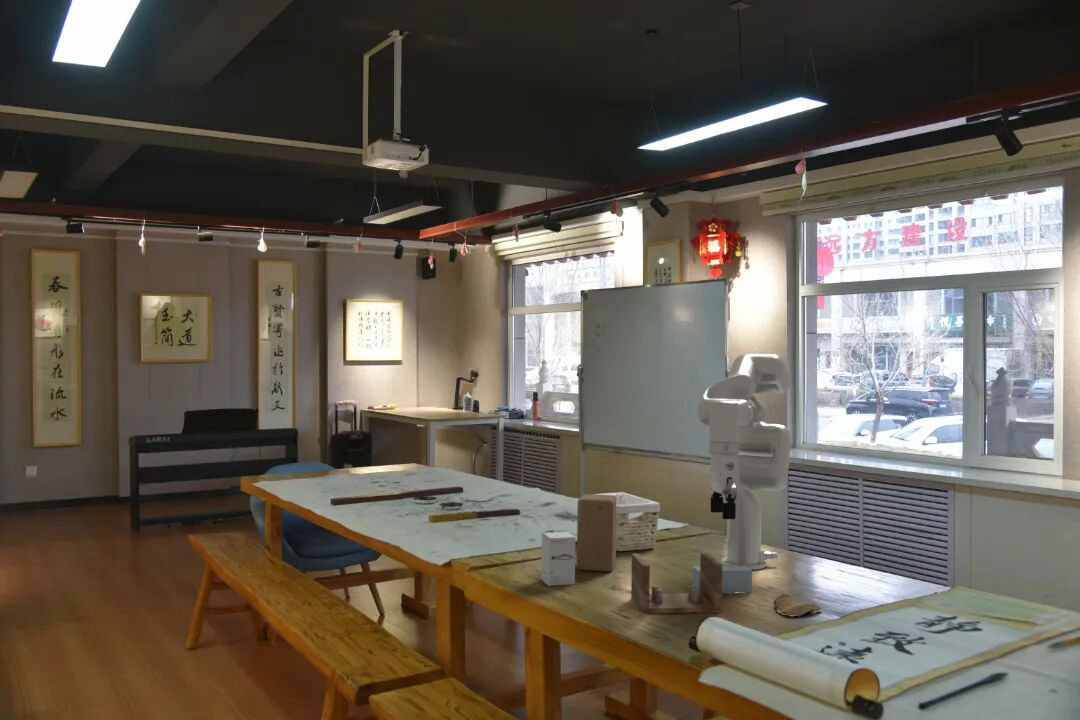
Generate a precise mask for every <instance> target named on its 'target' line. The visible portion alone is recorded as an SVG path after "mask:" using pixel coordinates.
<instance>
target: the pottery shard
mask: <svg viewBox="0 0 1080 720" xmlns="http://www.w3.org/2000/svg"><path fill="white" fill-rule="evenodd" d="M772 603H773V606H774V607H775V606H776V607H775V610H776V609H777V610H779V611H780V612H781V613H783V614H787V615H801V616H803V615H805V614H806V613H811V612H815V611H819V610H820V609H821V610H822V608H821V607H820V605H818V604H816V603H813V602H811V603H810V602H805V603H800V602H797V601H795V599H793V598H792V596H791V595H790V594H788V593H781V594H780V595H777V596H776V598H775V599H774V600H773V601H772ZM802 614H803V615H802Z"/></svg>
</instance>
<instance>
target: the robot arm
mask: <svg viewBox="0 0 1080 720" xmlns="http://www.w3.org/2000/svg"><path fill="white" fill-rule="evenodd" d="M790 373H791V372H790V370H789V368H788V366H787V364H786V362H785V361H784V359H782V357H781V356H779V355H777V354H772V353H766V354H765V353H743V354H741V355H739V356H737V357H736V358H735V359H734V361H733V363H732V365H731V368H730V370H729V372H728V374H727V377H725V378H723V379H721V380H718V381H717V382H715V383H712V384H711V385H709V386H708V387H707V388H705V389H704V392H703V393H702V395H701V397H700V399H699V402H698V405H697V412H696V413H697V419H698V421H699V422H700V424H701V425H703V426H705V427H708V428H709V429H708V454H709V455H710V457H711V458H710V469H709V485H710V486H709V487H710V513H722V519H723V520H727V521H726V522H727V529H726V530H727V531H726V532H727V535H726V539H727V542H726V557H722V558H721V562H720V563H721V564H722V566H743V565H745V566H747V567H748V568H750V569H751V570H752V571H754V570H755V571H756V570H763V569H765V568H766V567H767V562H766V561H767V560H769V559H770V560H777V559H778V553H777V552H776V551H775V552H773V551H772V552H771V551H765V550H763V549H762V504H761V501H760V498H759V497H758V496H757V494H756V493H755V491H754V490H756V491H757V490H760V491H773V492H777V491H782V490H784V489H785V487H786V485H787V484H788V477H789V467H790V457H791V456H790V455H791V444H792V443H791V439H792V438H791V433H790V430H789V428H788V427H787V426H786V425H782V424H778V423H767V421H768V410H767V408H766V407H765V405H764V404H763V402H762V401H761V400H760V399H759V398H758V397H756V395H755V394H761V395H762V394H766V395H768V394H769V395H782V394H785V393H787V392H788V390H789V389H790V388H791V387H790V386H791V374H790ZM740 454H741V455H740Z"/></svg>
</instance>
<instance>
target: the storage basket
mask: <svg viewBox="0 0 1080 720" xmlns="http://www.w3.org/2000/svg"><path fill="white" fill-rule="evenodd" d="M595 495H614V496H616V499H617V504H616V552H628V551H635V550H636V551H640V550H648V549H649V550H650V549H655V547H656V542H657V535H658V533H657V532H658V531H657V530H658V525H659V524H658V522H659V514H660V512H661V507H660V506H661V505H660V502H658V501H654V500H651V499H648V498H643V497H640V496H637V495H633V494H630V493H627V492H624V491H618V492H605V493H595Z"/></svg>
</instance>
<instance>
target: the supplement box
mask: <svg viewBox="0 0 1080 720" xmlns="http://www.w3.org/2000/svg"><path fill="white" fill-rule="evenodd" d="M540 564H541V566H540V567H541V568H540V569H541V570H540V571H541V572H540V575H541V576H540V580H542V582H543V583H544V584H546V585H547V586H548V587H552V586H568V585H569V586H570V585H571V586H572V585H573V586H574V585H576V584H575V583H576V582H575V579H576V578H575V577H576V574H575V573H576V536H574V535H573V534H571V533H570V532H568V531H565V532H561V531H560V532H557V531H556V532H541V562H540Z"/></svg>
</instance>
